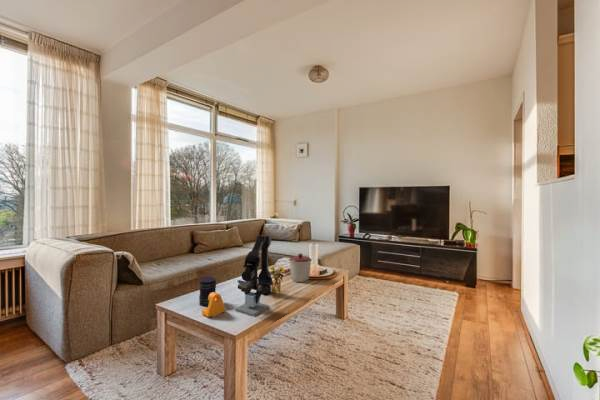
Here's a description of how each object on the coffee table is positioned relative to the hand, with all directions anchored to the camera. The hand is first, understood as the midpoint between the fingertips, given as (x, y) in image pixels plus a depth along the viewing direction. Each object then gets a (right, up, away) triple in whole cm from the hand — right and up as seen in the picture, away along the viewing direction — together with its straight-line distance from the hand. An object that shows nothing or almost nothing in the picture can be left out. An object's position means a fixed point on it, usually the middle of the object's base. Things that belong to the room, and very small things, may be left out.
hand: (252, 302), depth 166 cm
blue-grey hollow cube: (0, -1, 0) cm, 1 cm away
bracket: (-21, -5, -6) cm, 22 cm away
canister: (+28, -3, +56) cm, 62 cm away
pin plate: (0, -4, 0) cm, 4 cm away
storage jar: (-29, -4, +8) cm, 30 cm away
